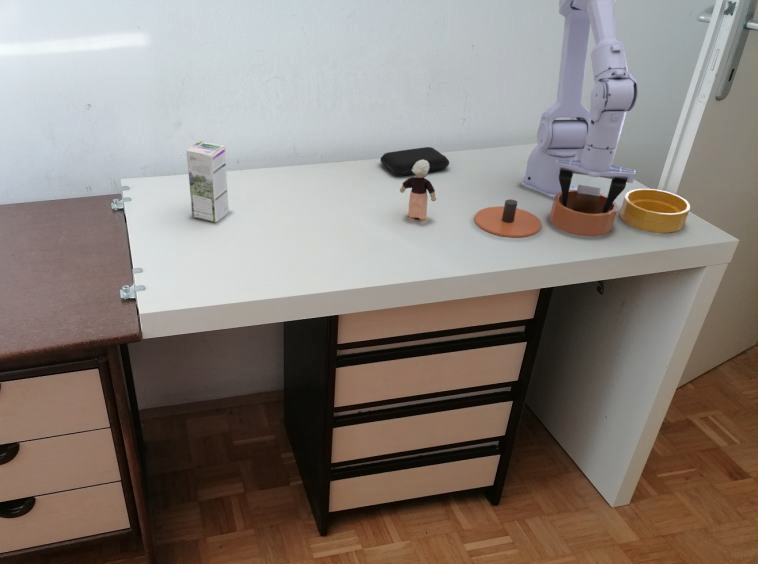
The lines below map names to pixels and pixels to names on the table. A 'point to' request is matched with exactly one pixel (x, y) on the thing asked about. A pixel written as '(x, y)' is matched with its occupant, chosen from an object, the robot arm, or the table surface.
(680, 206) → the bowl
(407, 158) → the carrying case
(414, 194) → the grandmother figurine
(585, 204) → the walnut block
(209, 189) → the syrup box
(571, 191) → the pot
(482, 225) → the lid
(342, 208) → the table surface
